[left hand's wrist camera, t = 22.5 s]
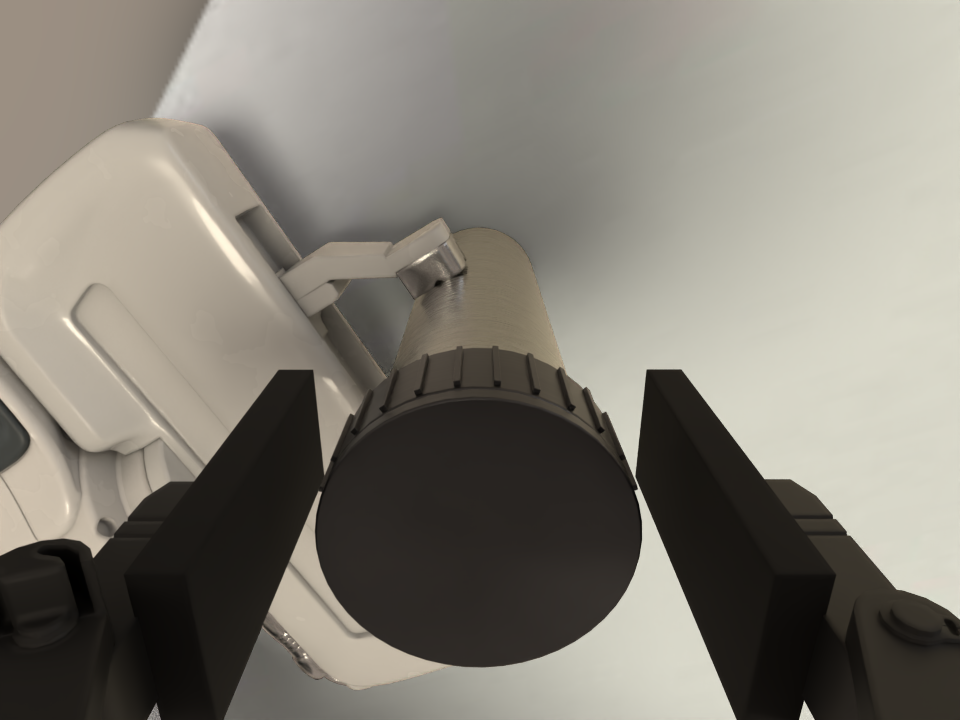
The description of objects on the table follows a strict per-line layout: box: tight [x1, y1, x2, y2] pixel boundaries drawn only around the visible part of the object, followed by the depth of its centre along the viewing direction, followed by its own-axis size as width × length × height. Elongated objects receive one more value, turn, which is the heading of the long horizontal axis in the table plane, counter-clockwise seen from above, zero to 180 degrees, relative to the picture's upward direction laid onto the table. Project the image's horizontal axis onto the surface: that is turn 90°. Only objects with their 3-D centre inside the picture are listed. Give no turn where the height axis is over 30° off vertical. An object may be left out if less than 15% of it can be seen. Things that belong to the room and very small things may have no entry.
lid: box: [315, 346, 642, 667], centre depth 11 cm, size 6×6×2 cm
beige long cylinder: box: [392, 228, 567, 375], centre depth 19 cm, size 4×4×16 cm
